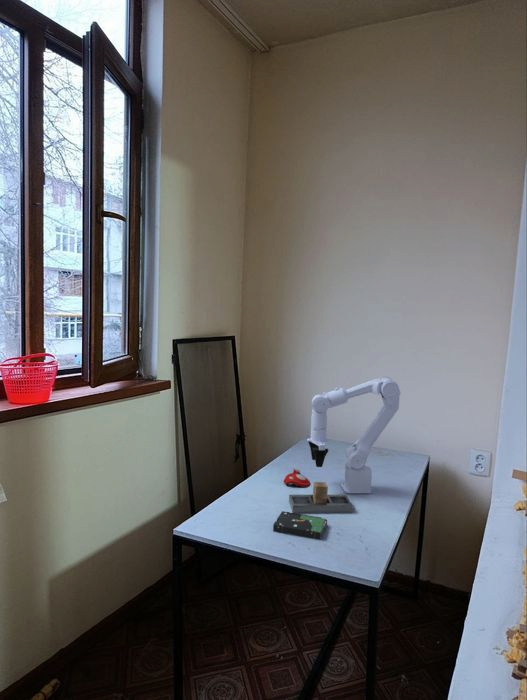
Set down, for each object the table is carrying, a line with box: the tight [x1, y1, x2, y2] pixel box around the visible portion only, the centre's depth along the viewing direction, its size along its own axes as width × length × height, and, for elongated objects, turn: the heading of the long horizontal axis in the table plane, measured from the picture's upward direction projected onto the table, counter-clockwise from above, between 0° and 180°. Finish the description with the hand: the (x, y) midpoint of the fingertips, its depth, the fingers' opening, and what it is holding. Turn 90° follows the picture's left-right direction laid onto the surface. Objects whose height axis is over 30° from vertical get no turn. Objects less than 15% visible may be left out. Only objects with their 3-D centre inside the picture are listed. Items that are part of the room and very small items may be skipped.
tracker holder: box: [283, 467, 311, 488], centre depth 186 cm, size 13×5×10 cm
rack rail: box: [288, 494, 354, 514], centre depth 164 cm, size 20×9×2 cm, turn 95°
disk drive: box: [272, 510, 328, 541], centre depth 149 cm, size 10×3×15 cm
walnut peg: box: [312, 481, 329, 503], centre depth 164 cm, size 4×4×8 cm
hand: (317, 463), depth 180 cm, fingers open, 7 cm apart
